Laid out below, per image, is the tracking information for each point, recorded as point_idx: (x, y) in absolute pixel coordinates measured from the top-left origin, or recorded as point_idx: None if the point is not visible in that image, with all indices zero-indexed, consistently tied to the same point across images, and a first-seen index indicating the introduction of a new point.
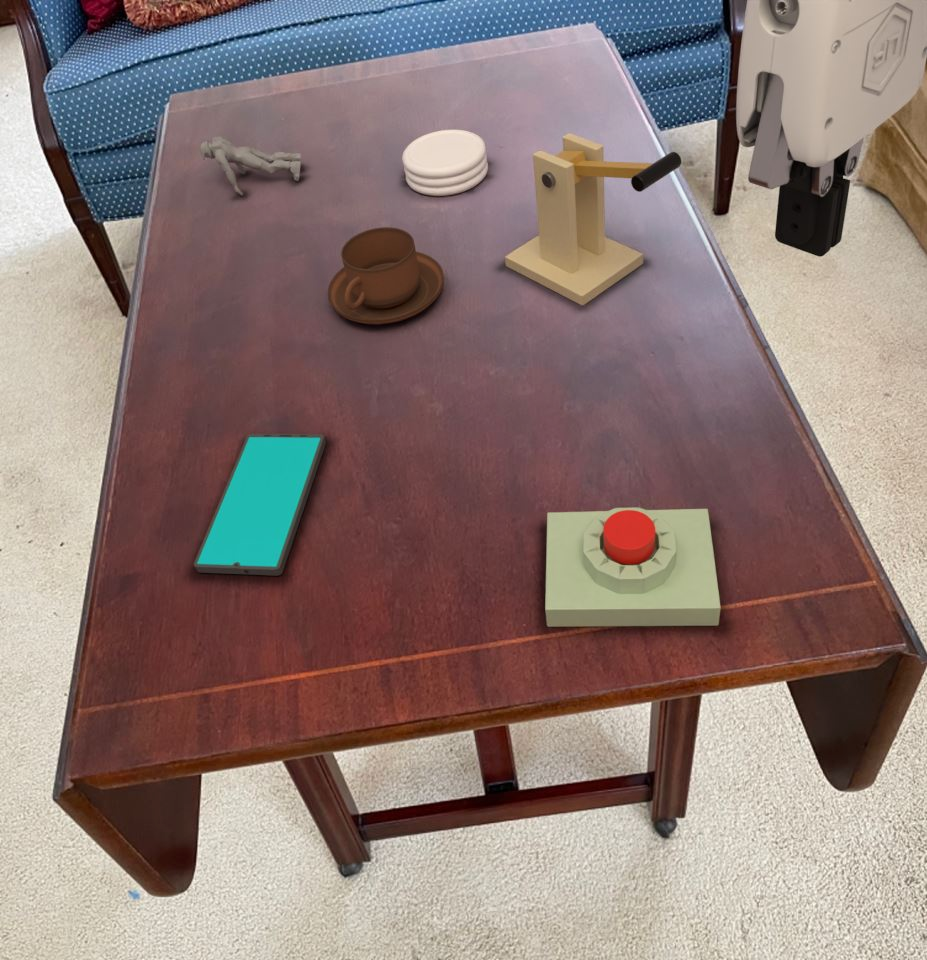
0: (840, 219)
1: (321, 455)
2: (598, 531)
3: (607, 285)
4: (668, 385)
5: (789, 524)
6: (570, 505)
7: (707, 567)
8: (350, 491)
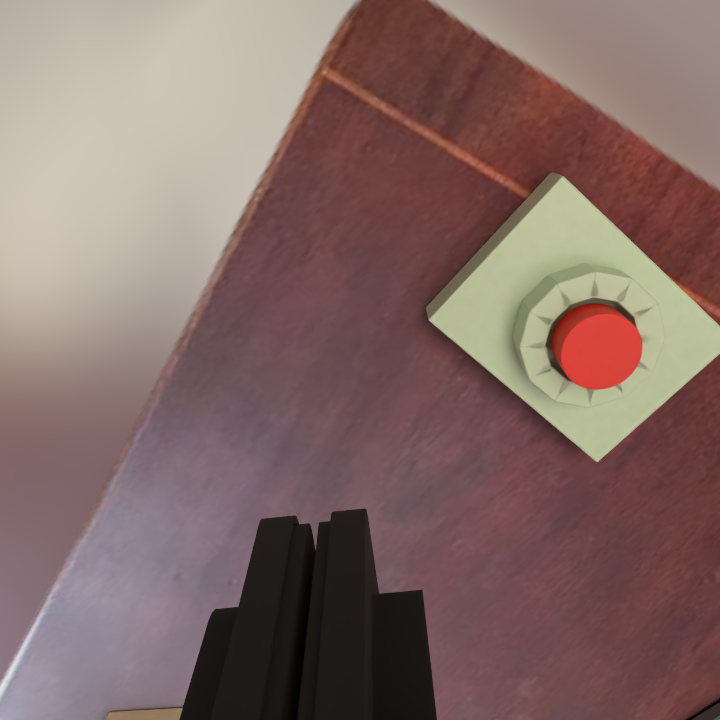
0: (274, 590)
1: (698, 716)
2: None
3: None
4: None
5: (332, 231)
6: (530, 456)
7: (516, 242)
8: (713, 650)
